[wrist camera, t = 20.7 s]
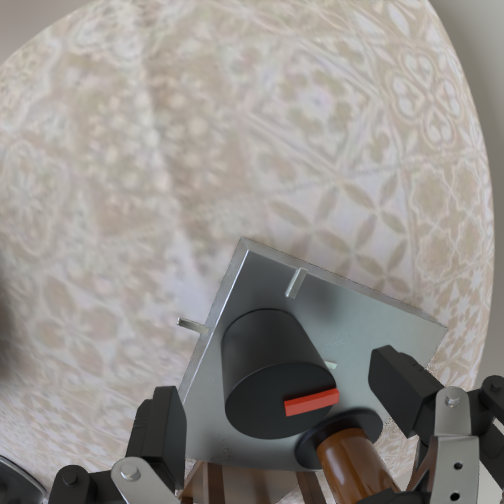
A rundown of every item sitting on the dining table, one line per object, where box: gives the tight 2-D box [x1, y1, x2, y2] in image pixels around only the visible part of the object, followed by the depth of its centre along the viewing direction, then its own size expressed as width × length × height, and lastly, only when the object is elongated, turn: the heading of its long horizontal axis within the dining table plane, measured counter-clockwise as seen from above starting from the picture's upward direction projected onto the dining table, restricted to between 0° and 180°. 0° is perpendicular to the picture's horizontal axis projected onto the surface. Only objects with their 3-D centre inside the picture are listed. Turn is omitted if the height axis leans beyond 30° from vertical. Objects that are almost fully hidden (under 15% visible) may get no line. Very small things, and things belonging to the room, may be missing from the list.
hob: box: [177, 237, 448, 471], centre depth 15 cm, size 14×16×3 cm
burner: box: [295, 410, 383, 470], centre depth 15 cm, size 6×6×1 cm
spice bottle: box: [316, 428, 401, 504], centre depth 10 cm, size 4×4×10 cm
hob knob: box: [221, 310, 339, 440], centre depth 10 cm, size 4×4×4 cm
